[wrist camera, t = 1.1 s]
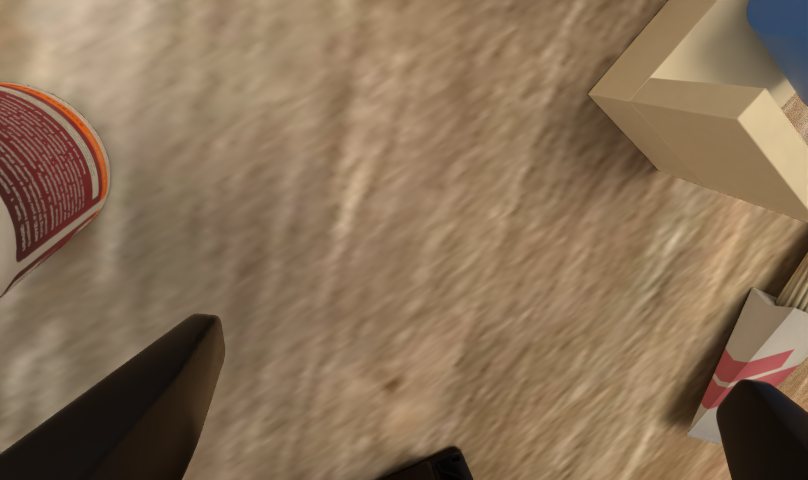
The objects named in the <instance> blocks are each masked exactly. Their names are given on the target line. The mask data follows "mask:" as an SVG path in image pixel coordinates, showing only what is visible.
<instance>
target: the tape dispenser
mask: <svg viewBox="0 0 808 480" xmlns="http://www.w3.org/2000/svg"><path fill="white" fill-rule="evenodd" d="M795 93H797V94H798V96H799V97H800V99H801V100H802V102H803V103H804V104H806V105H807V106H808V0H668V1H667V3H666V4H665V5H664V6H663V7H662V8H661V10H660V11H659V12H658V13H657V14H656V15H655V17H654V18H653V19H652V20H651V21H650V22H649V24H648V25H647V26H646V27H645V28H644V29H643V30H642V32H641V33H640V34H639V35H638V36H637V37H636V39H635V40H634V41H633V42H632V43H631V44H630V46H629V47H628V48H627V49H626V50H625V51H624V53H623V54H622V55H621V56H620V57H619V58H618V59H617V61H616V62H615V63H614V64H613V65H612V66H611V68H610V69H609V70H608V71H607V72H606V73H605V75H604V76H603V77H602V78H601V79H600V80H599V82H598V83H597V84H596V85H595V86H594V87H593V88H592V90H591V91H590V92H589V93H588V95H589V96H590V97H591V98H592V99H593V100H594V102H595V103H596V104H597V105H598V106H599V107H600V108H601V109H602V110H603V111H604V112H605V113H606V114H607V115H608V117H609V118H610V119H611V120H612V121H613V122H614V123H615V124H616V125H617V126H618V127H619V128H620V129H621V130H622V132H623V133H624V134H625V135H626V136H627V137H628V138H629V139H630V140H631V141H632V142H633V143H634V144H635V145H636V147H637V148H638V149H639V150H640V151H641V152H642V153H643V154H644V155H645V156H646V157H647V158H648V159H649V160H650V162H651V163H652V164H653V165H654V166H655V167H656V168H657V169H658V170H659V171H661V172H664V173H667V174H670V175H672V176H675V177H678V178H681V179H684V180H687V181H690V182H692V183H695V184H698V185H701V186H704V187H707V188H709V189H712V190H715V191H718V192H721V193H724V194H727V195H729V196H732V197H735V198H738V199H741V200H744V201H747V202H749V203H752V204H755V205H758V206H761V207H764V208H767V209H769V210H772V211H775V212H778V213H781V214H784V215H787V216H789V217H792V218H795V219H798V220H801V221H804V222H807V223H808V146H807V144H806V143H805V142H804V140H803V139H802V137H801V136H800V135H799V133H798V132H797V131H796V129H795V128H794V126H793V125H792V124H791V122H790V121H789V119H788V118H787V117H786V115H785V114H784V113H783V111H782V110H781V108H782V107H783V106H784V105H785V104H786V103H787V101H788V100H789V99H790V98H791V97H792V96H793V95H794V94H795Z"/></svg>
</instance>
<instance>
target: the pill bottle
mask: <svg viewBox="0 0 808 480" xmlns="http://www.w3.org/2000/svg"><path fill="white" fill-rule="evenodd" d="M110 179H111V176H110V165H109V160H108V156H107V153H106V150H105V148H104V145H103V143H102V141H101V139H100V138H99V136H98V134H97V133H96V131H95V130H94V129H93V127H92V126H91V125H90V124H89V122H88V121H87V120H86V119H85V118H84V117H83V116H82V115H81V114H80V113H79V112H78V111H76V110H75V109H74V108H73V107H71V106H70V105H68V104H67V103H66V102H64V101H62V100H61V99H59V98H57V97H55V96H53V95H51V94H49V93H47V92H45V91H42V90H40V89H37V88H34V87H30V86H27V85H22V84H16V83H8V82H0V298H1V297H2V296H3V295H4V294H6V293H7V292H8V291H9V290H10V289H12V288H13V287H14V286H15V285H16V284H17V283H19V282H20V281H21V280H22V279H23V278H25V277H26V276H27V275H28V274H29V273H30V272H32V271H33V270H34V269H35V268H36V267H38V266H39V265H40V264H41V263H42V262H44V261H45V260H46V259H47V258H48V257H50V256H51V255H52V254H53V253H54V252H56V251H57V250H58V249H59V248H60V247H62V246H63V245H64V244H65V243H66V242H68V241H69V240H70V239H71V238H72V237H74V236H75V235H76V234H77V233H78V232H79V231H81V230H82V229H83V228H84V227H86V226H87V225H88V224H89V223H90V222H91V221H92V220H93V219H94V218H95V216H96V215H97V214H98V213H99V211H100V210H101V208H102V207H103V205H104V203H105V201H106V199H107V196H108V193H109V188H110Z"/></svg>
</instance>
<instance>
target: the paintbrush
mask: <svg viewBox="0 0 808 480" xmlns="http://www.w3.org/2000/svg"><path fill="white" fill-rule="evenodd" d="M806 357H808V252H807V254H806V256H805V257H804V259H803V260H802V262H801V263H800V265H799V266H798V268H797V269H796V271H795V272H794V274H793V275H792V277H791V278H790V280H789V281H788V283H787V284H786V286H785V287H784V289H783V290H782V292H781V293H780V295H779V296H778V298H777V297H774V296H772V295H770V294H767V293H765V292H763V291H760V290H758V289H756V288H753V287H752V289H751V292H750V294H749V296H748V298H747V301H746V303H745V305H744V307H743V310H742V312H741V314H740V316H739V319H738V321H737V323H736V325H735V328H734V330H733V332H732V334H731V337H730V339H729V341H728V343H727V346H726V348H725V350H724V352H723V355H722V357H721V359H720V361H719V364H718V366H717V368H716V370H715V372H714V375H713V377H712V379H711V381H710V384H709V386H708V388H707V390H706V393H705V395H704V397H703V399H702V402H701V404H700V406H699V408H698V411H697V413H696V415H695V417H694V420H693V422H692V424H691V426H690V429H689V431H688V433H687V435H686V436H690V437H694V438H697V439H701V440H705V441H708V442H712V443H716V444H718V443H719V442H720V441H722V440H721V436H720V432H719V428H718V425H717V420H716V411H717V408H718V406H719V404H720V403H721V402H722V400H723V399H724V398H725V397H726V395H727V394H728V393H729V391H730V390H731V389H732V388H733V386H734V385H735V384H736V383H737V382H738V381H739V380H742V379H751V380H759V381H765V382H768V383H770V384H772V385H773V386H774V387H777V386H778V385H779V384H780V383H781V382H782V381H783V380H784V379H785V378H786V377H787V376H788V375H789V374H790V373H791V372H792V371H793V370H794V369H795V368H796V367H797V366H798V365H799V364H800V363H801V362H802V361H803V360H804V359H805V358H806Z"/></svg>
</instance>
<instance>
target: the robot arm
mask: <svg viewBox="0 0 808 480" xmlns="http://www.w3.org/2000/svg"><path fill="white" fill-rule="evenodd" d="M224 357H225V344H224V338H223V331H222V325H221V320H220V318H219V317H218V316H215V315H208V314H199V313H197V314H193V315H191V316H189V317H188V318H187V319H185V320H184V321H183V322H181V323H180V324H178V325H177V326H176V327H174V328H173V329H172V330H170V331H169V332H167V333H166V334H165V335H163V336H162V337H161V338H159V339H158V340H156V341H155V342H154V343H152V344H151V345H150V346H148V347H147V348H145V349H144V350H143V351H141V352H140V353H139V354H137V355H136V356H134V357H133V358H132V359H130V360H129V361H128V362H126V363H125V364H123V365H122V366H121V367H119V368H118V369H117V370H115V371H114V372H112V373H111V374H110V375H108V376H107V377H106V378H104V379H103V380H101V381H100V382H99V383H97V384H96V385H95V386H93V387H92V388H90V389H89V390H88V391H86V392H85V393H83V394H82V395H81V396H79V397H78V398H77V399H75V400H74V401H72V402H71V403H70V404H68V405H67V406H66V407H64V408H63V409H61V410H60V411H59V412H57V413H56V414H55V415H53V416H52V417H50V418H49V419H48V420H46V421H45V422H44V423H42V424H41V425H39V426H38V427H37V428H35V429H34V430H33V431H31V432H30V433H28V434H27V435H26V436H24V437H23V438H22V439H20V440H19V441H17V442H16V443H15V444H13V445H12V446H11V447H9V448H8V449H6V450H5V451H4V452H2V453H1V454H0V480H182V479H183V476H184V474H185V472H186V469H187V467H188V465H189V463H190V460H191V458H192V456H193V453H194V451H195V448H196V446H197V443H198V440H199V437H200V434H201V431H202V428H203V425H204V422H205V419H206V416H207V412H208V409H209V406H210V403H211V400H212V397H213V393H214V390H215V387H216V384H217V381H218V378H219V374H220V371H221V368H222V365H223V361H224ZM716 420H717V425H718V428H719V432H720V436H721V440H722V444H723V448H724V451H725V455H726V459H727V463H728V467H729V471H730V474H731V478H732V480H808V412H806V411H805V410H804V409H803V408H801V407H800V406H799V405H797V404H796V403H795V402H794V401H792V400H791V399H790V398H788V397H787V396H786V395H785V394H783V393H782V392H781V391H780V390H778V389H777V388H776V387H774V386H773V385H772V384H770V383H768V382H765V381H759V380H751V379H742V380H739V381H738V382H737V383H736V384H735V385H734V386H733V388H732V389H731V390H730V391H729V393H728V394H727V395H726V397H725V398H724V399H723V400H722V402H721V403H720V404H719V406H718V408H717V411H716ZM455 456H456V457H455ZM453 457H454V458H453ZM380 480H473V478H472V475H471V473H470V471H469V468H468V466H467V463H466V461H465V459H464V456H463V454H462V452H461V450H460V449H458V448H452V449H449V450H447V451H445V452H442V453H440V454H438V455H435V456H433V457H431V458H428V459H426V460H424V461H422V462H419V463H417V464H415V465H412V466H410V467H408V468H405V469H403V470H401V471H399V472H396V473H394V474H392V475H389V476H387V477H385V478H382V479H380Z"/></svg>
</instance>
